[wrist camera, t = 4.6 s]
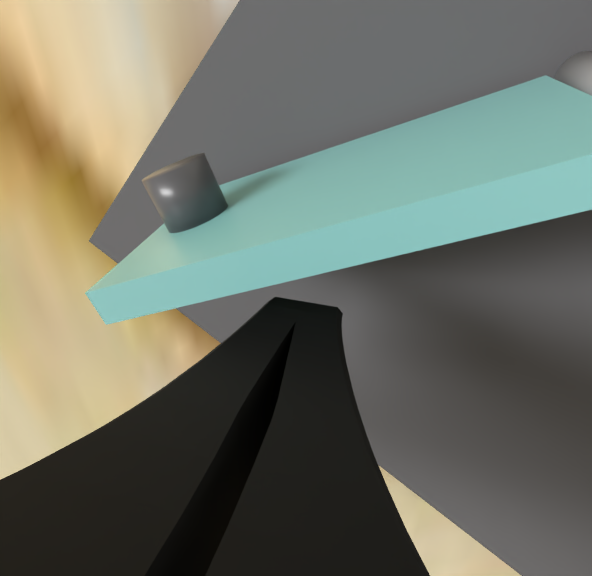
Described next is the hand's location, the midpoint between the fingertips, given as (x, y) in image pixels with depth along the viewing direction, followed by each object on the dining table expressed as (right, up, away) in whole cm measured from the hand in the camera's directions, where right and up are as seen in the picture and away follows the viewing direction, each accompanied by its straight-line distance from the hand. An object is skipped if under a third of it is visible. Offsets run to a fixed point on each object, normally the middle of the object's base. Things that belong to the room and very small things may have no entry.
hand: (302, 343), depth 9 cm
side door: (+1, +4, 0) cm, 5 cm away
